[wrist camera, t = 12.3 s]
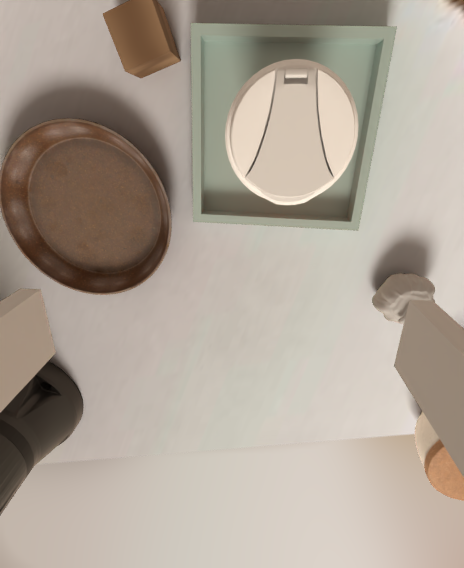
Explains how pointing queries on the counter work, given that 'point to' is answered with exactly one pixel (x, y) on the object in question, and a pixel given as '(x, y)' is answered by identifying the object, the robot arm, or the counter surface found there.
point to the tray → (238, 70)
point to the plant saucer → (85, 206)
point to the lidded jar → (437, 461)
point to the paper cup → (291, 131)
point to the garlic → (401, 295)
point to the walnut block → (142, 37)
